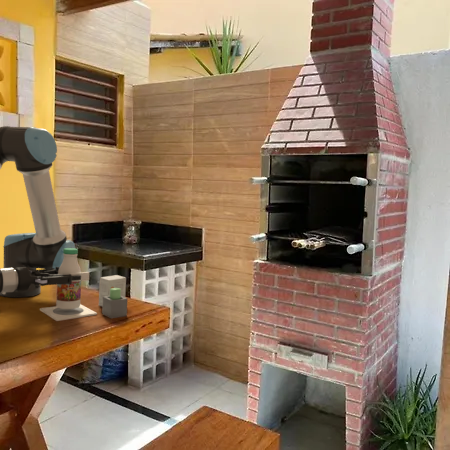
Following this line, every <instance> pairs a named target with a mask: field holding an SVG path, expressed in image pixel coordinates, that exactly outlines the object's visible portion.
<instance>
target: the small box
mask: <svg viewBox="0 0 450 450" xmlns="http://www.w3.org/2000/svg"><path fill="white" fill-rule="evenodd" d="M126 283H127V277H125V276H121V275H118V274H115V275H108V276H102V277H99V285H98V306H100V307H102V308H103V297H105V296H110V289H111V288H120V289H121V296H123V297H125V298H126V286H127V284H126Z"/></svg>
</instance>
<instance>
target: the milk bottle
mask: <svg viewBox="0 0 450 450" xmlns="http://www.w3.org/2000/svg"><path fill="white" fill-rule="evenodd" d="M63 253H64V254H63V255H64V259H63V262H62V264H61V266H60V268H59V271H58V274H70V273H82V271H81V270H82V269H81V267H80V265H79V262H78V253H79V250H78V248H76V247H75V248H65V249H64V250H63ZM81 295H82V281H76V282H72V283H71V285H69V284H57V285H56V304H55V306H57V307H58V308H60V309H75V308H78V307H79V306H80V304H81Z"/></svg>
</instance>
